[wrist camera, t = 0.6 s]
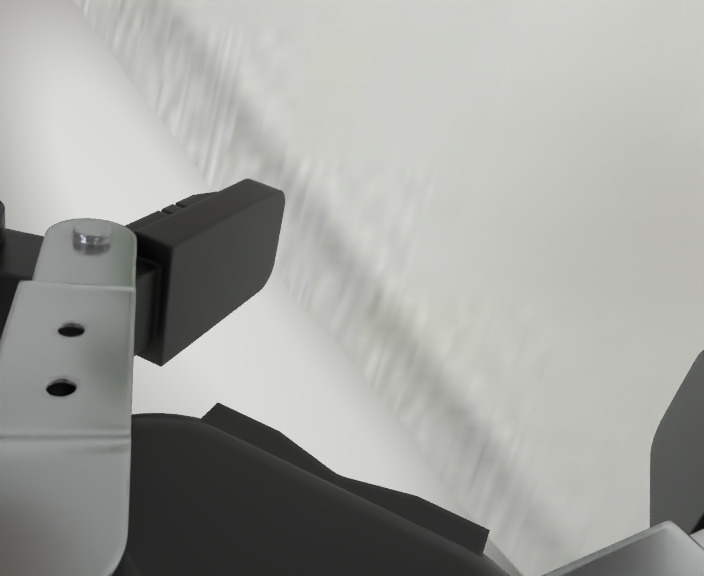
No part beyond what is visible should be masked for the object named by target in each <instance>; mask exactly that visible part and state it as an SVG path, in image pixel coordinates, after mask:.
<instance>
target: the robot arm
mask: <svg viewBox="0 0 704 576" xmlns="http://www.w3.org/2000/svg"><path fill="white" fill-rule="evenodd" d="M284 206H285V196H284V193H283V192H282V191H281V190H278V189H276V188H273V187H270V186H268V185H265V184H262V183H259V182H257V181H254V180H251V179H245V180H242V181H240V182H238V183H236V184H234V185H232V186H230V187H228V188H225V189H223V190H221V191H219V192H211V193H204V194H197V195H192V196H190V197H188V198H186V199H183V200H181V201H179V202H177V203H176V205H173V204H172V205H170V206H168V207H166V208H164V209H162V211H157V212H155V213H152V214H150V215H148V216H146V217H143V218H141V219H139V220H137V221H135V222H132V223H130V224H129V225H126V226H123V225H120V224H118V223H114V222H111V221H107V220H101V219H90V218H84V219H71V220H66V221H63V222H59V223H57V224H54V225H53V226H51V227H50V228H49V229H48V230H47V231H46V233H45V236H44V237H43V236H39V235H34V234H29V233H24V232H19V231H15V230H10V229H6V228H5V207H4V205H3V203H2V202H1V201H0V576H509V575H508V574H507V573H506V572H505V571H504V570H502V568H501V567H500V566H498V565H497V564H496V563H495V562H494V561H493V560H491V559H490V558H488V557H487V556H486V555H485V554H483V551H484V547H485V543H486V541H487V537H488V534H489V531H490V530H488V529H486V528H484V527H482V526H480V525H477V524H475V523H473V522H471V521H469V520H467V519H464V518H462V517H460V516H458V515H456V514H454V513H452V512H450V511H447V510H446V509H443V508H441V507H439V506H437V505H435V504H433V503H430V502H429V501H426V500H424V499H422V498H420V497H418V496H414V495H411V494H407V493H403V492H399V491H395V490H392V489H388V488H384V487H380V486H376V485H372V484H368V483H365V482H361V481H357V480H354V479H349V478H346V477H343V476H340V475H338V474H336V473H335V472H333V471H332V470H330V469H329V468H327V467H326V466H325V465H323V464H322V463H321V462H320V461H318V460H317V459H316V458H314V457H313V456H312V455H310V454H308V452H306V451H305V450H303V449H302V448H301V447H299V446H298V445H297V444H295V443H294V442H293V441H291V440H290V439H289V438H287V437H286V436H285V435H283V434H282V433H281V432H279V431H277V430H275V429H273V428H271V427H269V426H267V425H265V424H262V423H260V422H258V421H256V420H254V419H252V418H250V417H247V416H245V415H243V414H241V413H239V412H237V411H235V410H233V409H230V408H228V407H226V406H224V405H222V404H220V403H217V404H216V405H215V406H214V407H213V408H212V409H211V410H210V411H209V412H207V414H206V415H204V416H203V417H202V418H201V419H200V418H196V417H190V416H184V415H178V414H165V413H143V414H132V415H131V411H132V409H131V408H132V384H133V358H134V356H135V355H137V356H140V357H142V358H144V359H146V360H148V361H150V362H152V363H155V364H157V365H159V366H163V365H164V364H165V363H166V362H168V361H169V360H170V359H172V358H173V357H174V356H176V355H177V354H178V353H180V352H181V351H182V350H183V349H185V348H186V347H187V346H189V345H190V344H191V343H193V342H194V341H195V340H196V339H198V338H199V337H200V336H202V335H203V334H204V333H205V332H207V331H208V330H209V329H211V328H212V327H213V326H215V325H216V324H217V323H219V322H220V321H221V320H222V319H224V318H225V317H226V316H228V315H229V314H230V313H232V312H233V311H234V310H235V309H237V308H238V307H239V306H241V305H242V304H243V303H244V302H246V301H247V300H248V299H250V298H251V297H252V296H254V295H255V294H256V293H257V292H259V291H260V290H261V289H262V288H263V287H264V285H265V284H266V282H267V281H268V279H269V277H270V275H271V272H272V270H273V266H274V262H275V257H276V251H277V246H278V240H279V234H280V229H281V223H282V218H283V212H284ZM542 576H704V350H703V351H702V352H701V353H700V354H699V355H698V357H697V358H696V360H695V361H694V363H693V365H692V367H691V368H690V370H689V372H688V374H687V375H686V377H685V379H684V381H683V382H682V384H681V386H680V388H679V390H678V391H677V393H676V395H675V397H674V398H673V400H672V402H671V404H670V406H669V407H668V409H667V411H666V413H665V414H664V416H663V418H662V420H661V422H660V424H659V426H658V428H657V431H656V433H655V436H654V439H653V443H652V447H651V459H650V528H649V529H647V530H644V531H642V532H640V533H637V534H635V535H633V536H631V537H628V538H626V539H624V540H622V541H619V542H617V543H615V544H612V545H610V546H608V547H606V548H603V549H601V550H599V551H596V552H594V553H592V554H590V555H587V556H585V557H583V558H580V559H578V560H576V561H574V562H571V563H569V564H567V565H565V566H562V567H560V568H558V569H555V570H553V571H551V572H549V573H546V574H544V575H542Z"/></svg>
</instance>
